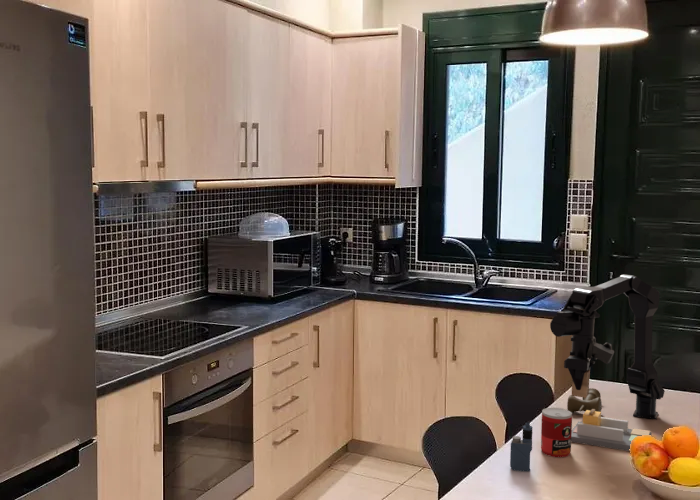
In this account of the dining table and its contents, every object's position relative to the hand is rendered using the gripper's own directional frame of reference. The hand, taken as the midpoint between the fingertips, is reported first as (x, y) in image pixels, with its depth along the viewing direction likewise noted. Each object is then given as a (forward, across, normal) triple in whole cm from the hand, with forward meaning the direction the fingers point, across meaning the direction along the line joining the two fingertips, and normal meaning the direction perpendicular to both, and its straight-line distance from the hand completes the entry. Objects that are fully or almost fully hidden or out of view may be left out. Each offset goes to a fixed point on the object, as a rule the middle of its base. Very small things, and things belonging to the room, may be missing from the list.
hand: (579, 388), depth 226 cm
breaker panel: (+13, -2, -9) cm, 16 cm away
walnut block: (+2, 0, 0) cm, 2 cm away
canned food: (+14, -18, +2) cm, 23 cm away
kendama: (+13, +22, +1) cm, 25 cm away
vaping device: (+14, -34, +8) cm, 38 cm away
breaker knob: (+11, -2, -4) cm, 12 cm away
